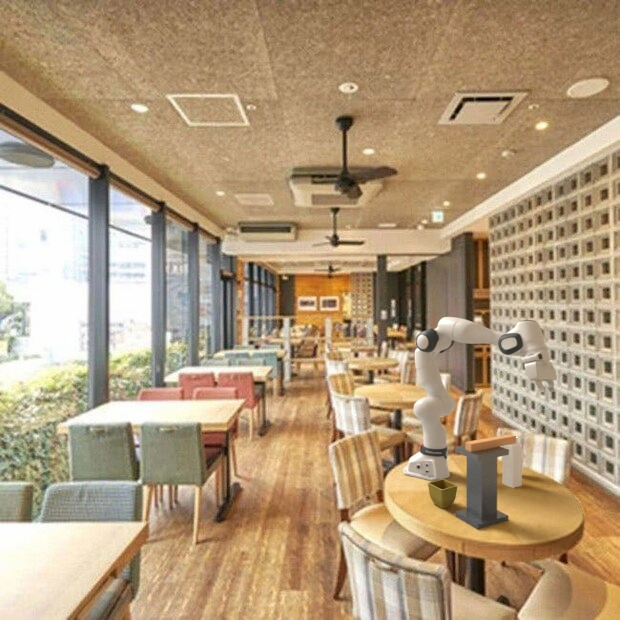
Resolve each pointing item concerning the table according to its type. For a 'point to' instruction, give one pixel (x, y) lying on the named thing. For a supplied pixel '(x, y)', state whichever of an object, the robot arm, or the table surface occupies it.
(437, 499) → the flower pot
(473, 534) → the table surface
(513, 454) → the milk
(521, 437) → the cup with straw
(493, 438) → the orange-brown square bar
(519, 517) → the table surface
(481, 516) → the pedestal
